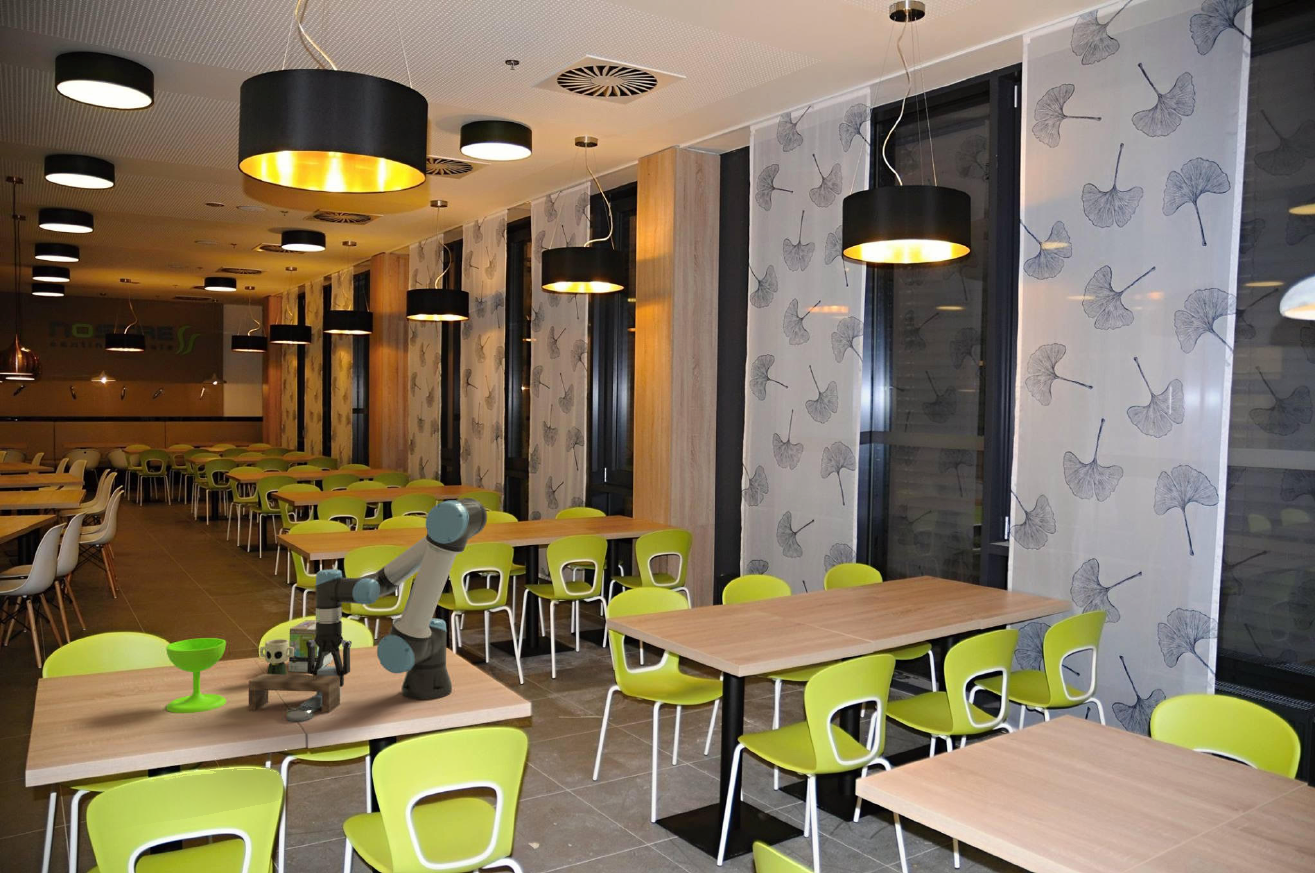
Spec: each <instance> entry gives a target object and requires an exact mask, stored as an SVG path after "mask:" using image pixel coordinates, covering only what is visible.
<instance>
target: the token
mask: <svg viewBox="0 0 1315 873" xmlns="http://www.w3.org/2000/svg"><path fill="white" fill-rule="evenodd" d="M313 718H314V712H313V708H312V707H308V706H301V705H300V706H295V707H294V706H293V707H291V708H288V709H287V710H286V721H287V722H290V723H302V722H308V721H310V720H313Z"/></svg>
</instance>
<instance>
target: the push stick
mask: <svg viewBox="0 0 1315 873" xmlns="http://www.w3.org/2000/svg"><path fill="white" fill-rule="evenodd" d="M317 675H323V676H337V671H336V667H335V665H334V666H330V665H329V666H328V665H325V666H324V667H322V668H320V669H319V670H317ZM301 706H308V707H312V708H313V713H314V712H315V711H317V710H319V708H322V692H316V694H315V695H313V696H311V697H310V698H308V699H307V700H305V701H304V702H302V703H301V704H300V707H301Z"/></svg>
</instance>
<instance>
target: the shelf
mask: <svg viewBox="0 0 1315 873" xmlns="http://www.w3.org/2000/svg"><path fill="white" fill-rule="evenodd" d="M269 691H274V692H275V691H278V692H281V691H283V692H310V693H311V692H315V693H317V692H322V706H321V713H330V712H332V711H334V709H336V708H337V707H338V706H339V705H341V696H340V676H323V675H312V674H287V675H283V674H267V673H261V674H259V675H258V676H256V677H254V678H251V679H250V680H248V711H255V712H256V711H257V710H258V709H261V708H262V707H263V706H265V705H266V704H268V703H269Z"/></svg>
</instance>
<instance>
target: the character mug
mask: <svg viewBox="0 0 1315 873" xmlns="http://www.w3.org/2000/svg"><path fill="white" fill-rule="evenodd" d="M289 650H291V654H289ZM259 656H260V657H261V658H264V659H265V662H267V663H269V664H268V665H267V666H268V667H267V670H266V671H267V673H266V674H283V675H288V672H287V665H286V662H287V661H289V657H293V656H294V648H293V647H289V640H288V639H283V638H279V639H278V638H277V639H271V640H267V641H265V643H264V646H260V648H259Z"/></svg>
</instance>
